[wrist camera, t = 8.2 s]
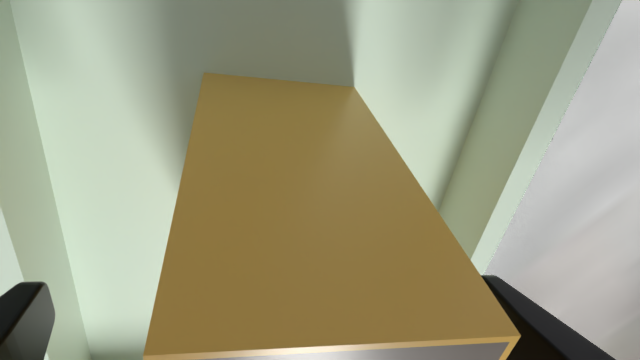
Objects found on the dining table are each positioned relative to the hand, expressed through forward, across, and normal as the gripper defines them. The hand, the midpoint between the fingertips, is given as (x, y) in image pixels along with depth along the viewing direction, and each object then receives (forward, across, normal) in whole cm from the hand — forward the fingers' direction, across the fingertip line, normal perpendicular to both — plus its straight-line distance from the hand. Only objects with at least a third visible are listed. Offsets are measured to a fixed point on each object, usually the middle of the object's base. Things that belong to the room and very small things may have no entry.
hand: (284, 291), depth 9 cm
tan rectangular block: (+4, 0, 0) cm, 5 cm away
